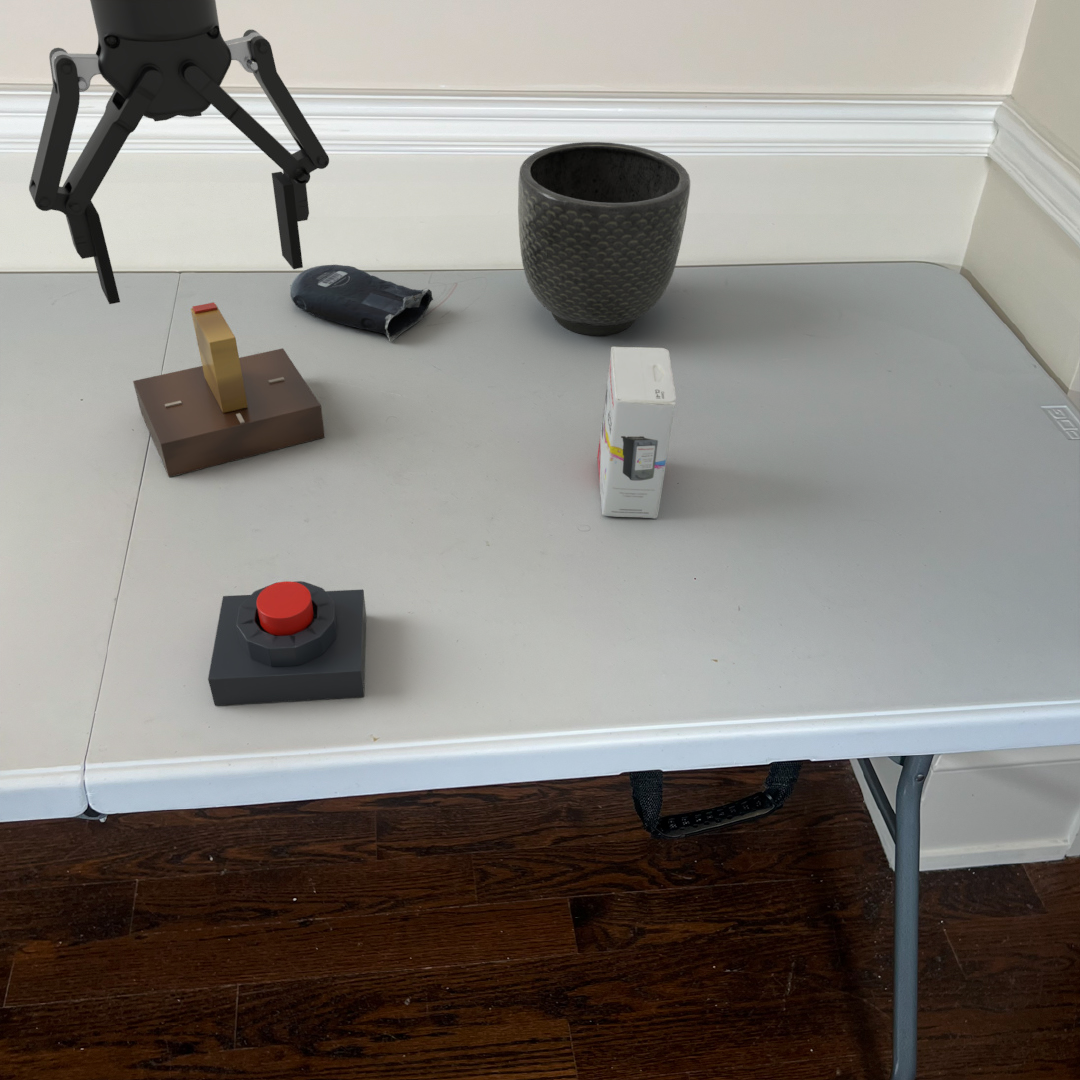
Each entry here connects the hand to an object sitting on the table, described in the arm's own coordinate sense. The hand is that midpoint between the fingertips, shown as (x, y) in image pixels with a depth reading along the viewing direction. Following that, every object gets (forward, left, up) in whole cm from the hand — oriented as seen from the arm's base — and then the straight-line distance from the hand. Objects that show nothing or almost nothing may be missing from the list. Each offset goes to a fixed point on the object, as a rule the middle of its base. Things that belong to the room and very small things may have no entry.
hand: (204, 278), depth 77 cm
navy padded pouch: (+19, +24, -19) cm, 36 cm away
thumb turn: (+1, +8, -15) cm, 17 cm away
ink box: (+29, -16, -19) cm, 38 cm away
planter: (+42, +12, -19) cm, 48 cm away
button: (-3, -23, -14) cm, 27 cm away
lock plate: (+1, +8, -18) cm, 20 cm away
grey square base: (-3, -23, -18) cm, 29 cm away
